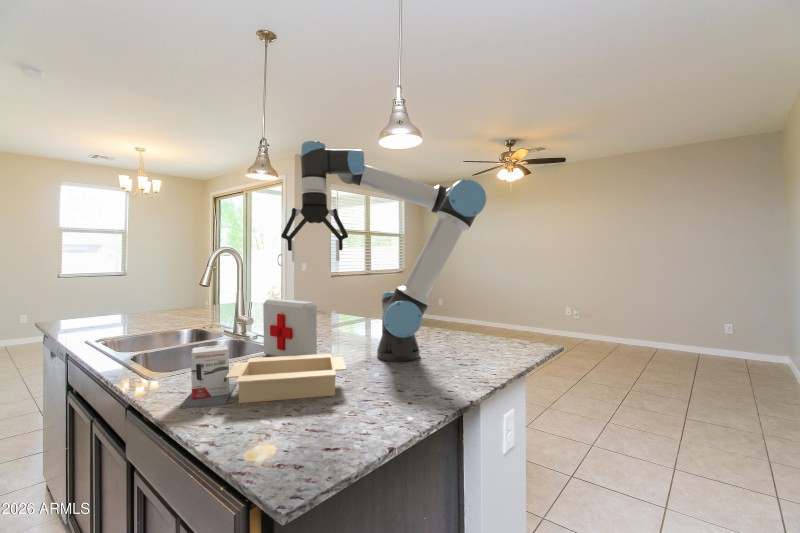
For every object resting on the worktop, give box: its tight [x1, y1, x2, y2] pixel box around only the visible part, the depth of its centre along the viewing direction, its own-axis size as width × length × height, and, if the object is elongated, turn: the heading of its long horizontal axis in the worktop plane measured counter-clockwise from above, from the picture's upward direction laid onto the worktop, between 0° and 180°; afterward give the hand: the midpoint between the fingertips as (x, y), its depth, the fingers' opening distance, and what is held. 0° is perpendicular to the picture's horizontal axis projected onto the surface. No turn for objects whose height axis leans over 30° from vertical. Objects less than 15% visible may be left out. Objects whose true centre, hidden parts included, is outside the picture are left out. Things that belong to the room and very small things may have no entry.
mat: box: [179, 383, 237, 409], centre depth 96 cm, size 10×13×1 cm
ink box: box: [190, 344, 230, 399], centre depth 96 cm, size 8×5×12 cm, turn 118°
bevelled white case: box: [262, 298, 318, 357], centre depth 131 cm, size 21×8×20 cm, turn 58°
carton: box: [226, 353, 347, 404], centre depth 101 cm, size 29×20×6 cm
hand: (315, 261), depth 118 cm, fingers open, 13 cm apart
